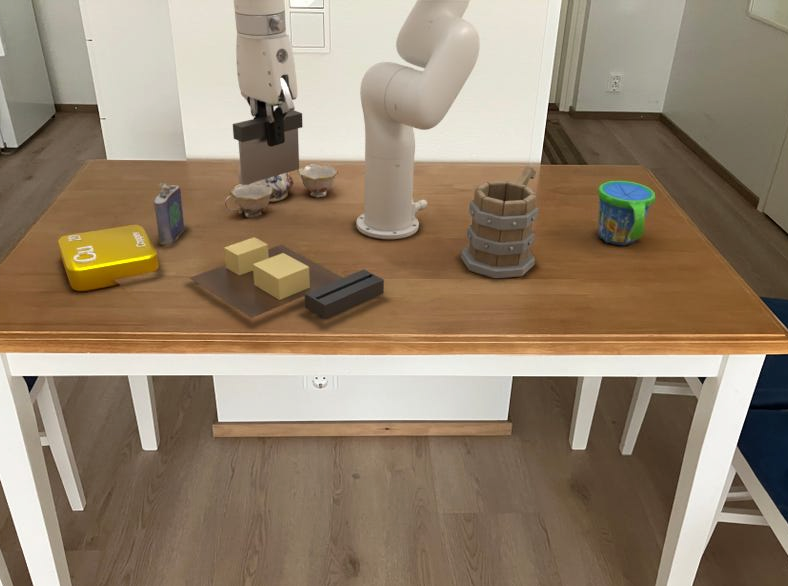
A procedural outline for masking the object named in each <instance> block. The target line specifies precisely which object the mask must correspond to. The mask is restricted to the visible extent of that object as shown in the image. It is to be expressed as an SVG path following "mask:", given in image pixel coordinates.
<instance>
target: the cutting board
mask: <svg viewBox="0 0 788 586" xmlns="http://www.w3.org/2000/svg"><path fill="white" fill-rule="evenodd" d="M282 253H284V254H286V255H288V256H290V257H292V258H294V259H295V260H297V261H299V262H301V263H303V264H305V265H307V266H308V267H309V281H310V288H308V289H305V290H303V291H300V292H298V293H296V294H293V295H291V296H288V297H286V298H283V299H281V300H279V299H277V298H275V297H274V296H272V295H270V294H269V293H267V292H265V291H264V290H262V289H260V288H259V287H257V286H255V285H254V274H253V271H251V272H248V273H245V274H242V275H240V276H239V275H237V274H236V273H234V272H232V271H231V270H229V269H227V268H226V264H224V265H220V266H218V267H216V268H215V267H214V268H213V269H210V270H207V271H204V272H202V273H199V274H196V275H193V276H190V277H189V279H190V280H192V281H193V282H195V283H196V284H198V285H199V286H201V287H203V288H204V289H206V290H207V291H209V292H211V293H212V294H213V295H215V296H216V297H218V298H220V299H221V300H223V301H224V302H226V303H227V304H229V305H231V306H232V307H233V308H235V309H237V310H239V312H241V313H242V314H244V315H246V316H248V317H249V318H251V319H253V318H255V317H258V316H260V315H262V314H264V313H267V312H269V311H272V310H274V309H277V308H279V307H282V306H284V305H286V304H289V303H291V302H293V301H296V300H298V299H300V298H303V297H305V293H308V292H310V291H312V290H315V289H317V288H320V287H322V286H324V285H327V284H329V283H332V282H334V281H337V280H339V279H341V278H344V277H343V276H341V275H339V274H337V273H336V272H334V271H331V270H330V269H328V268H326V267H325V266H323V265H320V264H319V263H317V262H315V261H313V260H311V259H309V258H307V257H305V256H304V255H302V254H300V253H298V252H296V251H294V250H293V249H291V248H289V247H287V246H285V245H283V244H280V245H276V246H274V247H271V248H268V256H269V258H271V257H274V256H276V255H279V254H282Z"/></svg>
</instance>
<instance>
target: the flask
mask: <svg viewBox="0 0 788 586" xmlns="http://www.w3.org/2000/svg"><path fill="white" fill-rule="evenodd" d="M158 187H160V188H161V189H160V192H159V193H158V194H157V196H156V197H155V199H154V201H153V205H154V210H155V212H154V213H155V219H156V226H157V234H158V242H159V246H160V247H165V246H168V245H170V244H174V242H176V241H177V240H178V239H179V236H180V235H181V234H182V233H183V232H184V231H185V230H186V229H185V221H184V212H183V202H182V195H181V194H182V191H181V187H180V186H179V185H177V184H176V185H175V184H170V185H167V184H166V183H159V184H158Z"/></svg>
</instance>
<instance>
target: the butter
mask: <svg viewBox="0 0 788 586" xmlns="http://www.w3.org/2000/svg"><path fill="white" fill-rule="evenodd" d="M253 274H254V285H255V286H257V287H259V288H260V289H262V290H264V291H265V292H267V293H269V294H270V295H272V296H274V297H275V298H277V299H279V300H281V299H283V298H286V297H288V296H291V295H293V294H296V293H298V292H300V291H303V290H305V289H308V288H310V281H309V267H308V266H307V265H305V264H303V263H301V262H299V261H297V260H295V259H294V258H292V257H290V256H288V255H286V254H284V253H282V254H279V255H276V256H274V257H271V258H268V259H265V260H263V261H260V262H257V263H255V264H253Z"/></svg>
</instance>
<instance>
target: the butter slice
mask: <svg viewBox="0 0 788 586" xmlns="http://www.w3.org/2000/svg"><path fill="white" fill-rule="evenodd" d="M223 248H224V249H223V251H224V259H225V260H224V261H225V265H226V268H227V269H229V270H231V271H232V272H234V273H236V274H237V275H239V276H240V275H242V274H245V273H248V272H251V271H253V264H255V263H257V262H260V261H263V260H265V259H268V258H269V256H268V249H269V244H268V243H266V242H265V241H262V240H261V239H258V238H257V237H255V236H253V237H250V238H248V239H245V240H241V241H239V242H236V243H233V244H231V245H228V246H225V247H223Z"/></svg>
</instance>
